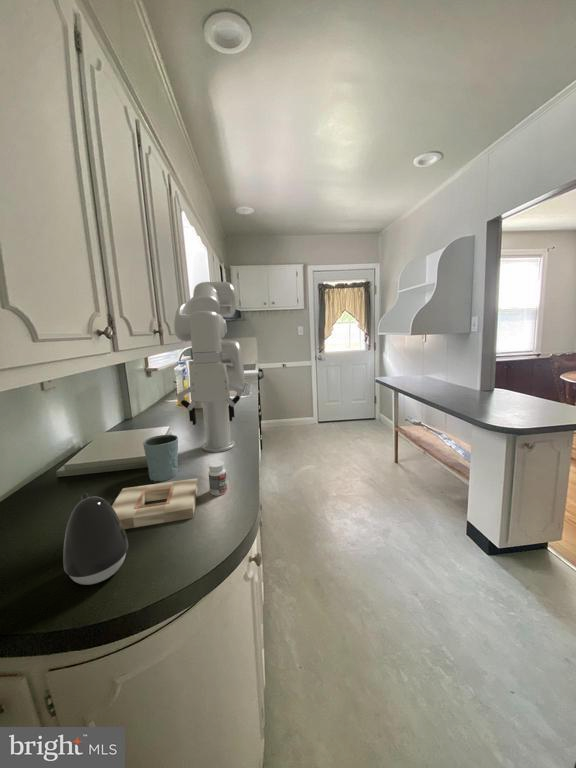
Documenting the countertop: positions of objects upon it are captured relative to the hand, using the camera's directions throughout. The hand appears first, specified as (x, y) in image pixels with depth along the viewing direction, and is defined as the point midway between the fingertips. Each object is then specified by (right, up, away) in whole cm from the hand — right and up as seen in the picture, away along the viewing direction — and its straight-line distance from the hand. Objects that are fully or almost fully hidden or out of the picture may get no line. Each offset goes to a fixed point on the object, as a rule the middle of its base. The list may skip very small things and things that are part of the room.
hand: (212, 421), depth 82 cm
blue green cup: (-19, -19, +15) cm, 31 cm away
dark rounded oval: (-15, -26, -25) cm, 39 cm away
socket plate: (-14, -22, -3) cm, 26 cm away
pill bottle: (+1, -20, +3) cm, 21 cm away
